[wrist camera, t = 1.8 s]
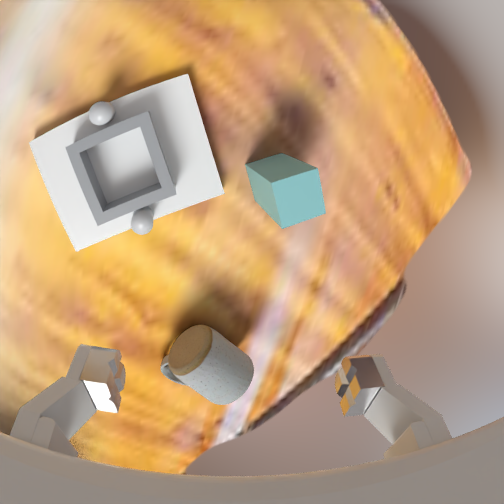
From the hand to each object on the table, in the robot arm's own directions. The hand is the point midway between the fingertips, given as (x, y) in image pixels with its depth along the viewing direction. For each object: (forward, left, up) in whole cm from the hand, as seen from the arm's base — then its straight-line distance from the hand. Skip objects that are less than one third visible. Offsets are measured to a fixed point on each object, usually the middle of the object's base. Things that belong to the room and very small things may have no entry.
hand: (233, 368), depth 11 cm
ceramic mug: (-1, -20, -23) cm, 31 cm away
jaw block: (+9, +1, -23) cm, 24 cm away
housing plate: (-5, +4, -23) cm, 23 cm away
